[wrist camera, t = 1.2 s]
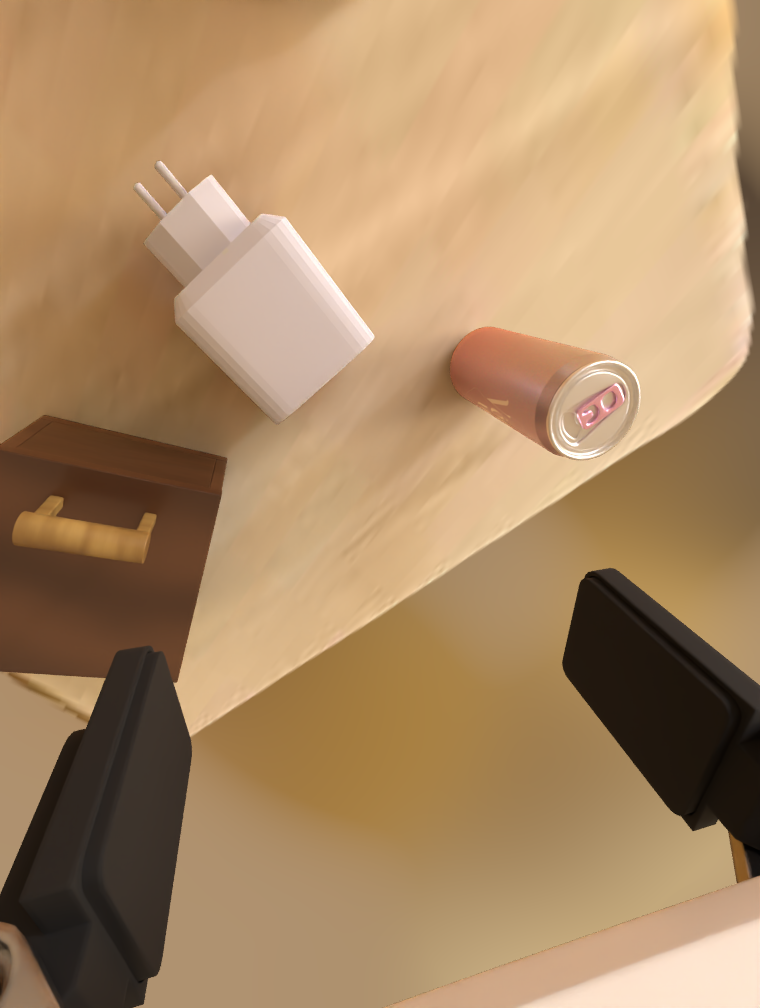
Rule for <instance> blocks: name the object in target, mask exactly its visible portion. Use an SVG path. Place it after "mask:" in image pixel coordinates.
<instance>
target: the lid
mask: <svg viewBox="0 0 760 1008" xmlns="http://www.w3.org/2000/svg"><path fill="white" fill-rule="evenodd" d="M221 495H222V491H221V490H217V489H212V488H207V487H203V486H198V485H193V484H188V483H183V482H179V481H174V480H169V479H164V478H160V477H155V476H150V475H145V474H140V473H136V472H131V471H126V470H121V469H117V468H112V467H107V466H102V465H97V464H93V463H88V462H83V461H78V460H74V459H69V458H64V457H59V456H55V455H50V454H45V453H40V452H35V451H31V450H26V449H21V448H16V447H12V446H7V445H2V444H0V671H2V672H18V673H34V674H50V675H65V676H81V677H97V678H106V676H107V674H108V671H109V669H110V666H111V664H112V661H113V659H114V656H115V654H116V652H118V651H119V650H124V649H130V648H136V647H142V646H148V645H149V646H151V647H152V648H153V650H154V652H158V651H162V652H163V653H164V655H165V658H166V661H167V664H168V668H169V671H170V674H171V677H172V681H173V682H177V681H178V677H179V673H180V669H181V664H182V660H183V656H184V652H185V647H186V643H187V639H188V635H189V631H190V626H191V622H192V618H193V614H194V609H195V605H196V601H197V597H198V593H199V588H200V584H201V580H202V576H203V571H204V567H205V563H206V559H207V555H208V550H209V546H210V542H211V538H212V533H213V529H214V525H215V521H216V517H217V512H218V508H219V504H220V500H221Z"/></svg>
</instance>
